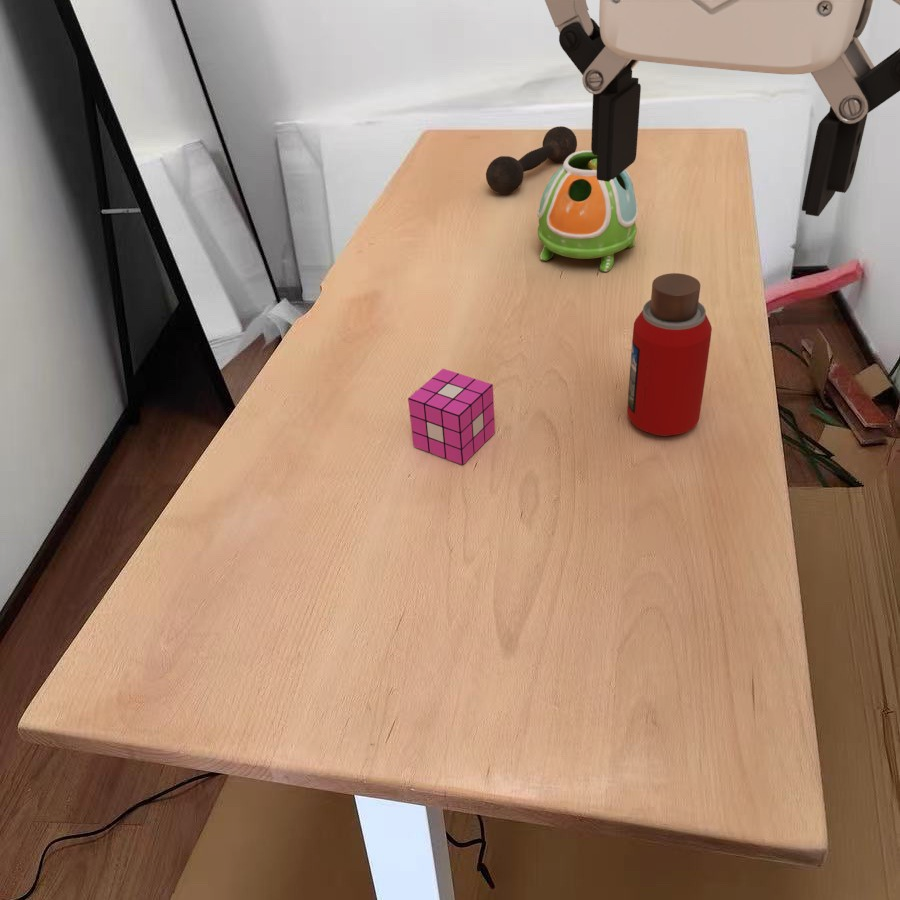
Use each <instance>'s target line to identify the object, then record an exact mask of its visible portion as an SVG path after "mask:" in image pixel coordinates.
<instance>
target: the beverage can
mask: <svg viewBox="0 0 900 900" xmlns="http://www.w3.org/2000/svg"><path fill="white" fill-rule="evenodd" d="M650 305H651V299H649V300H648V301H646V302H645V304H644V305H643V307H642V310H641V312H640V313H639V314H638V315H637V317H636V318H635V320H634V321H633V330H632V339H631V354H630V366H629V379H628V380H629V381H628V392H627V395H628V396H627V417H628V419H629V421H630V422H631V423H632V425H634V426H635V427H636V428H638V429H639V430H641V431H644V432H646V433H648V434H651V435H655V436H659V437H660V436H661V437H662V436H663V437H667V436H670V437H671V436H676V435H681V434H684V433H687V432H689V431H690V430H692V429H694V427H695V426H696V425H697V424H698V423H699V420H700V416H701V410H702V409H701V408H702V403H703V396H704V389H705V382H706V376H707V367H708V362H709V354H710V346H711V339H712V331H713V329H712V325H711V322H710V320H709V317H708V316H707V313H706V312H707V311H706V307H705V306H704V305H703V304H702V303H701V302H700V301H699V302H698V310H697V313H696V315H695V316H693V317H692V318H690V319H687V320H682V321H669V320H664V319H661V318H658V317H656V316H655V315H653V314H652V312H651V310H650Z"/></svg>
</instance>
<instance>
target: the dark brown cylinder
mask: <svg viewBox="0 0 900 900" xmlns="http://www.w3.org/2000/svg"><path fill="white" fill-rule="evenodd" d="M700 293H701V283H700V281H699V280H698V279H697V278H696V277H694V276H692V275H689V274H685V273H678V272H677V273H675V272H674V273H673V272H671V273H665V274H661V275H659V276H656V278H654V279H653V280H652V284H651V294H650V295H651V296H650V300H651V305H650V310H651V312H652V314H653V315H655V316H656V317H658V318H661V319H664V320H669V321H682V320H687V319H690V318H692V317H693V316H695V315H696V313H697V310H698V302H699V303H700Z"/></svg>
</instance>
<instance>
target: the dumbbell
mask: <svg viewBox="0 0 900 900" xmlns="http://www.w3.org/2000/svg"><path fill="white" fill-rule="evenodd" d="M577 147H578V141H577V136H576V134H575V133H574V131H573V130H572V129H571V128H568V127H567V126H561V125H560V126H555V127H552V128H550V129H549V130H548V131H547V132H546V133H545V135H544V137H543V140H542V146H541V147H538V148H536V149H533V150H531V151H528V152H527V153H526V154H524V155H523V156H522V157H520V159H517V158H514V156H513V157H512V156H508V155H500V156H498V157H496V158H494V159H493V160H492V161H490V163H489V164H488V165H487V168H486V172H485V179H486V184H487V185H488V187H489V188H490V189H491V190H492V191H493V192H495V193H496V194H499V195H509V194H512V193H514V192H515V191H517V190H518V189H519V188H520V187H521V186H522V183H523V181H524V176H525V175H524V173H526V172H529V171H531V170H533V169H535V168H538V167H539V166H541V165H542V164H544V163H545V162H546V161H547V160H549V161H550V162H553V163H557V164H558V163H564V161H565V160H566V158H567V157H568V156H569V155H571V154H572V153H574V152H577Z"/></svg>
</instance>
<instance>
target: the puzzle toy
mask: <svg viewBox="0 0 900 900" xmlns="http://www.w3.org/2000/svg"><path fill="white" fill-rule="evenodd" d="M407 403H408V411H409V419H410V427H411V438H412V444H413V447H414V448H416V449H419V450H422V451H424V452H428V453H430V454H433V455H435V456H437V457H440V458H442V459H446V460H448V461H451V462H454V463H456V464H458V465H461V466H463V465H465V464H466V463H467V462H468V461H469V459H470V458H472V456H474V454H476V453H477V451H478V450H480V448H481V447H483V446H484V444H485V443H486V442H488V441H489V439H491V437H492V436H493V435H494V434H495V433H496V426H495V403H494V384H493V383H490V382H487V381H483V380H481V379H478V378H474V377H471V376H468V375H465V374H461V373H458V372H456V371H452V370H449V369H446V368H442V369H441V370H439V371H438V372H437V373H435V374H434V375H433V376H432V377H430V379H429V380H428V381H426V382H425V383H424V384H423V385H422V386H421V387H419V388H418V389H417V390H416V391H415V392H413V394H411V395H410V396H409V397H408V398H407Z"/></svg>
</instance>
